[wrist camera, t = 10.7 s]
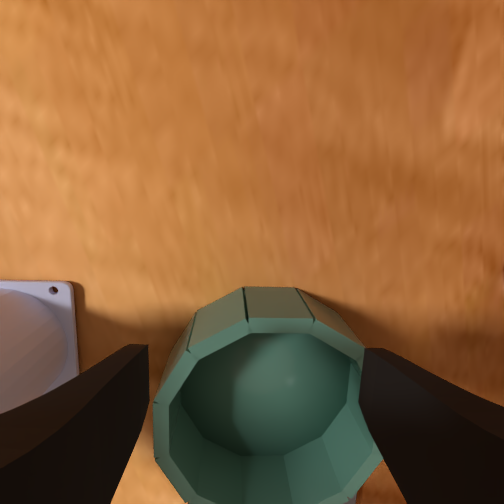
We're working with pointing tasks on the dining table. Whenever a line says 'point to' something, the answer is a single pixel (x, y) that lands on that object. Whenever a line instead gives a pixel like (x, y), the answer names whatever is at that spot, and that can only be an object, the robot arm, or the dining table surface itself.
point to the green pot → (264, 404)
